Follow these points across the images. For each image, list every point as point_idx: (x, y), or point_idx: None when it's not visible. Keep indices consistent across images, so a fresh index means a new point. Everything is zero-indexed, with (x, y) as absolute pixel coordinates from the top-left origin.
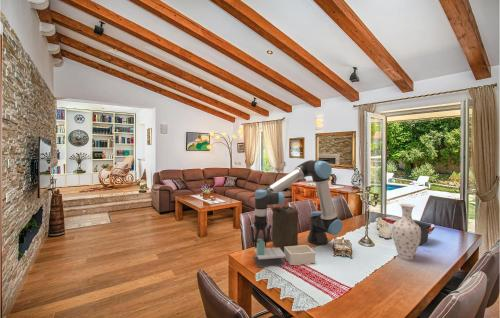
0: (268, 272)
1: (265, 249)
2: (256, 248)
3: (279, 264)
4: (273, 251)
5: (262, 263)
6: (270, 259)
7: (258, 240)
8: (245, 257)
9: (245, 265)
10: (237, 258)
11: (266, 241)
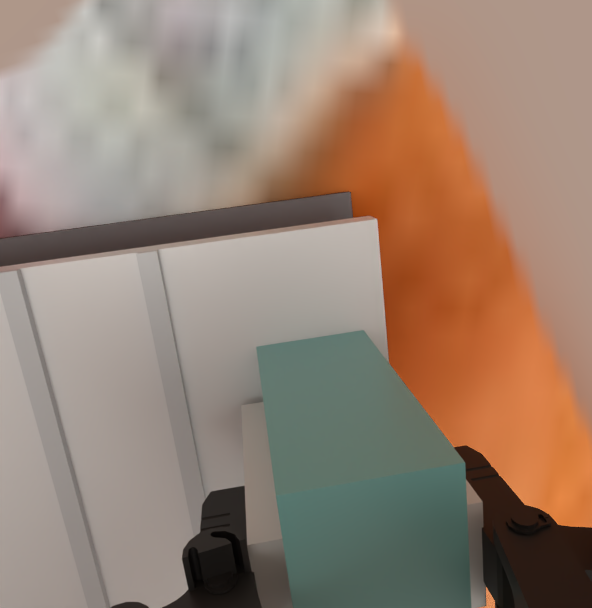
0: (211, 36)
1: None
2: None
3: (8, 263)
4: (55, 472)
5: None
6: None
7: (445, 597)
8: None
9: (510, 272)
10: (578, 463)
11: (192, 566)
